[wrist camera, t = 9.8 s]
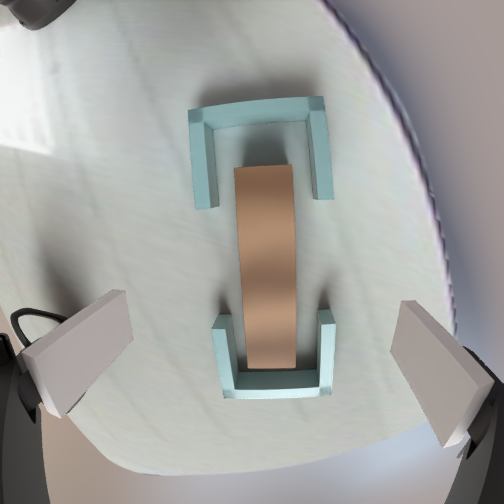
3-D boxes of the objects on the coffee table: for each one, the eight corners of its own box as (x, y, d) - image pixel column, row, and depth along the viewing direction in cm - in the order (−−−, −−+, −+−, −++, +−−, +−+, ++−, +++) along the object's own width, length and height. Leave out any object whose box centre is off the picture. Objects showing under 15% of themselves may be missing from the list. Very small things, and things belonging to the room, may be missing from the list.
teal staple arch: (198, 118, 22) (187, 110, 19) (318, 107, 21) (323, 96, 18) (205, 207, 24) (195, 209, 21) (327, 198, 23) (334, 199, 20)
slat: (242, 172, 23) (233, 167, 19) (289, 169, 23) (291, 164, 18) (253, 342, 26) (247, 368, 22) (294, 341, 26) (295, 367, 22)
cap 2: (327, 376, 26) (331, 394, 23) (229, 380, 28) (224, 398, 25) (330, 309, 25) (335, 323, 22) (218, 314, 26) (211, 329, 23)
